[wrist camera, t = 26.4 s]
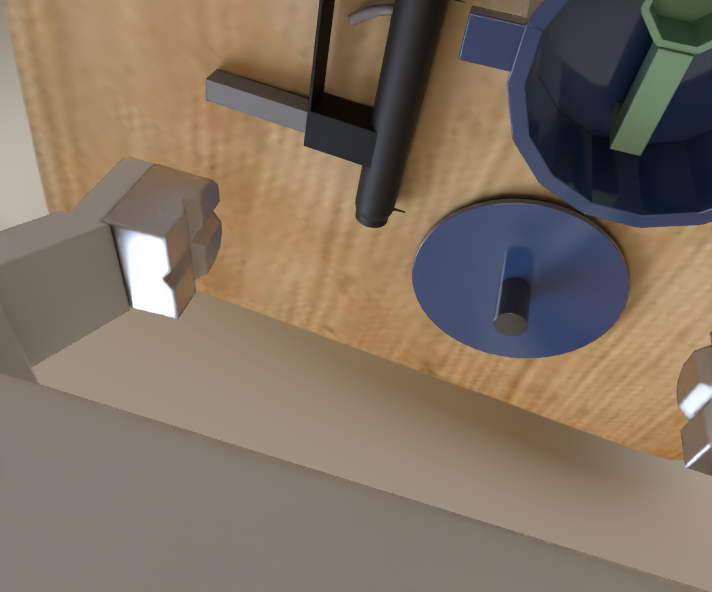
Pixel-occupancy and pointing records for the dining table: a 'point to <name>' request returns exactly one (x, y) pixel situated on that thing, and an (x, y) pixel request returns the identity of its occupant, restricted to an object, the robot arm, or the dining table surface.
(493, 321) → the lid
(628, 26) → the pot
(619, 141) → the scoop
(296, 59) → the dining table surface
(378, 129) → the door handle
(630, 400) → the dining table surface
